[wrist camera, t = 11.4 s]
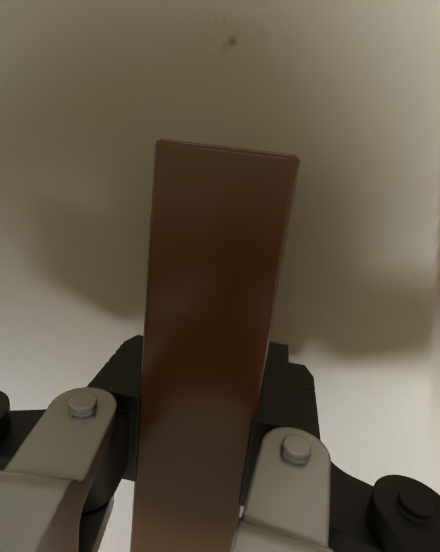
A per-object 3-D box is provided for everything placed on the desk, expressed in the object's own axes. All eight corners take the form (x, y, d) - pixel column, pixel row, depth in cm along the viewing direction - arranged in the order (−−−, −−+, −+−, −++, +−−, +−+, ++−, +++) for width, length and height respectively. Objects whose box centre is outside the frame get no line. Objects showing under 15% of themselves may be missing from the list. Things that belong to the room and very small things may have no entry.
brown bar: (191, 144, 10) (136, 136, 6) (307, 157, 10) (320, 157, 6) (149, 616, 16) (106, 761, 12) (223, 635, 15) (203, 792, 12)
